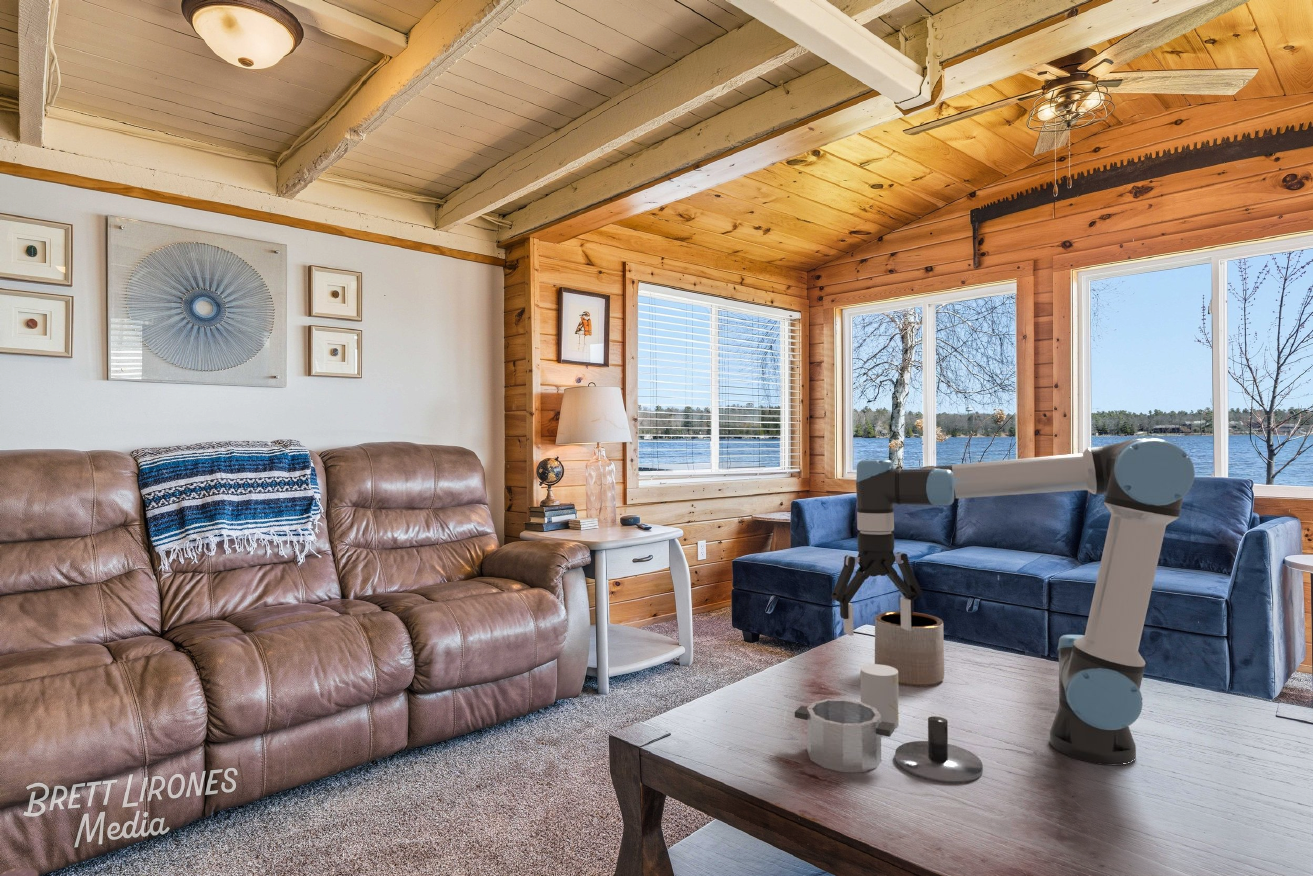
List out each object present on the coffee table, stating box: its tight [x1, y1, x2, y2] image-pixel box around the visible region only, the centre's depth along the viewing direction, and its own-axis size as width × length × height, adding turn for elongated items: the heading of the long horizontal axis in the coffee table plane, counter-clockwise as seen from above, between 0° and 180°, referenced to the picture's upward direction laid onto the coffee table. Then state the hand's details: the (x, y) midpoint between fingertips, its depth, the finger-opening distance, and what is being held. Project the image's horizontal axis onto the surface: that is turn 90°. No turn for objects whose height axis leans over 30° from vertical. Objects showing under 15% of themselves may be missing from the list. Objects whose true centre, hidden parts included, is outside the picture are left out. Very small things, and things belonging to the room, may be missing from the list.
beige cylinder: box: [860, 663, 900, 729], centre depth 161 cm, size 8×8×12 cm
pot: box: [794, 698, 895, 773], centre depth 144 cm, size 19×14×9 cm
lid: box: [894, 716, 984, 784], centre depth 140 cm, size 16×16×9 cm
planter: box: [874, 611, 945, 687], centre depth 192 cm, size 18×18×16 cm
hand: (877, 631), depth 152 cm, fingers open, 13 cm apart
